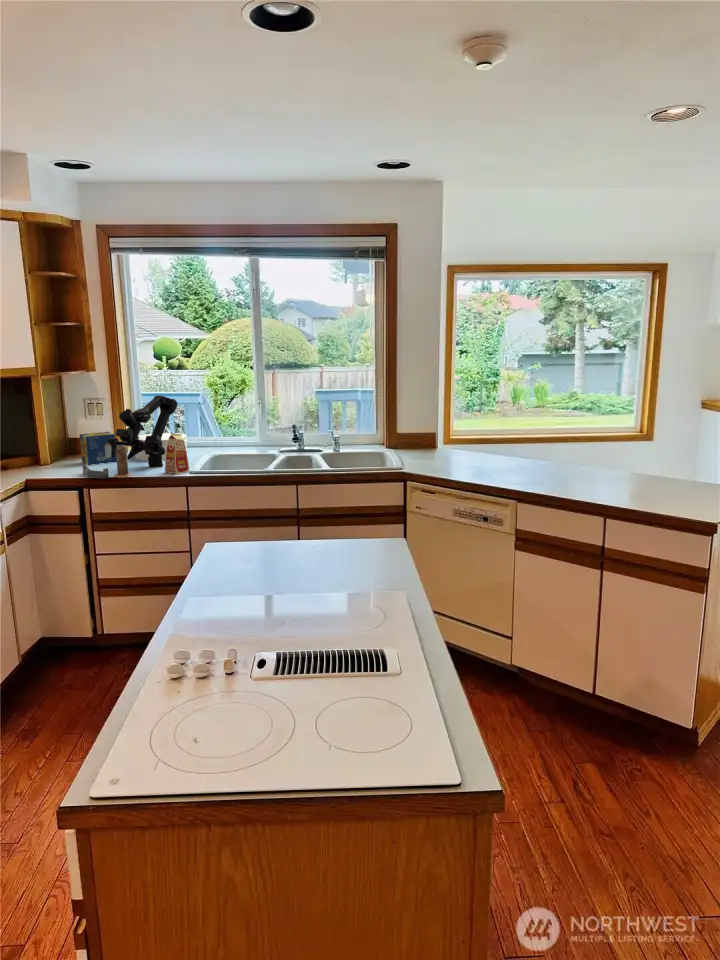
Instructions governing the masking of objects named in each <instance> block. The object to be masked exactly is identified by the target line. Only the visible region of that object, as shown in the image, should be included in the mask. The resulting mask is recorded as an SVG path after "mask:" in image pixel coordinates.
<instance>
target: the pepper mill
mask: <svg viewBox="0 0 720 960" xmlns="http://www.w3.org/2000/svg"><path fill="white" fill-rule="evenodd" d="M127 457H128V453H127V448H126V446H125V445H117V449H116V459H117V462H116V468H117V474H118V475H128V473H129V466H128V465H129V464H128V459H127Z"/></svg>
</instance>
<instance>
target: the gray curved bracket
mask: <svg viewBox="0 0 720 960" xmlns="http://www.w3.org/2000/svg"><path fill="white" fill-rule="evenodd" d="M82 474H83V475H84V476H86V475H87V476H88V478H94V479H103V480H106V479H107V480H108V479H110V478H109V477H110V476H109V468H106V467H105V468H103V469H102V471H101V470H94V469H93V470H91V468H88V465H87V464H85V463H83V464H82ZM87 476H86V477H87Z"/></svg>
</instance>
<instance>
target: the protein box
mask: <svg viewBox="0 0 720 960" xmlns="http://www.w3.org/2000/svg"><path fill="white" fill-rule="evenodd" d="M115 434H116V433H112V432H110V431H101V432H91V433H80V434H79V442H80V443H79V444H80V451H81V462H83V464H87V466H92V465H91V464H96V465H100V464H99V463H104V464H109V463H108V462H113V463H117V459H116V456H115V457H114V458H111V450H112V449H111V446H110V445H109V443H108V440H109V438H116V435H115Z"/></svg>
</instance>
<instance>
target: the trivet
mask: <svg viewBox="0 0 720 960" xmlns="http://www.w3.org/2000/svg"><path fill="white" fill-rule="evenodd" d="M131 475H132V476H133V474H132V473H131V472H128V475H118V473H115V474H114V475H113V477H114V476H115V477H114V478H116V479H117V478H118V479H121V478H122V479H123V478H124V477H125V478H129V477H128V476H131ZM132 476H131V477H132ZM125 478H124V479H125Z"/></svg>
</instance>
